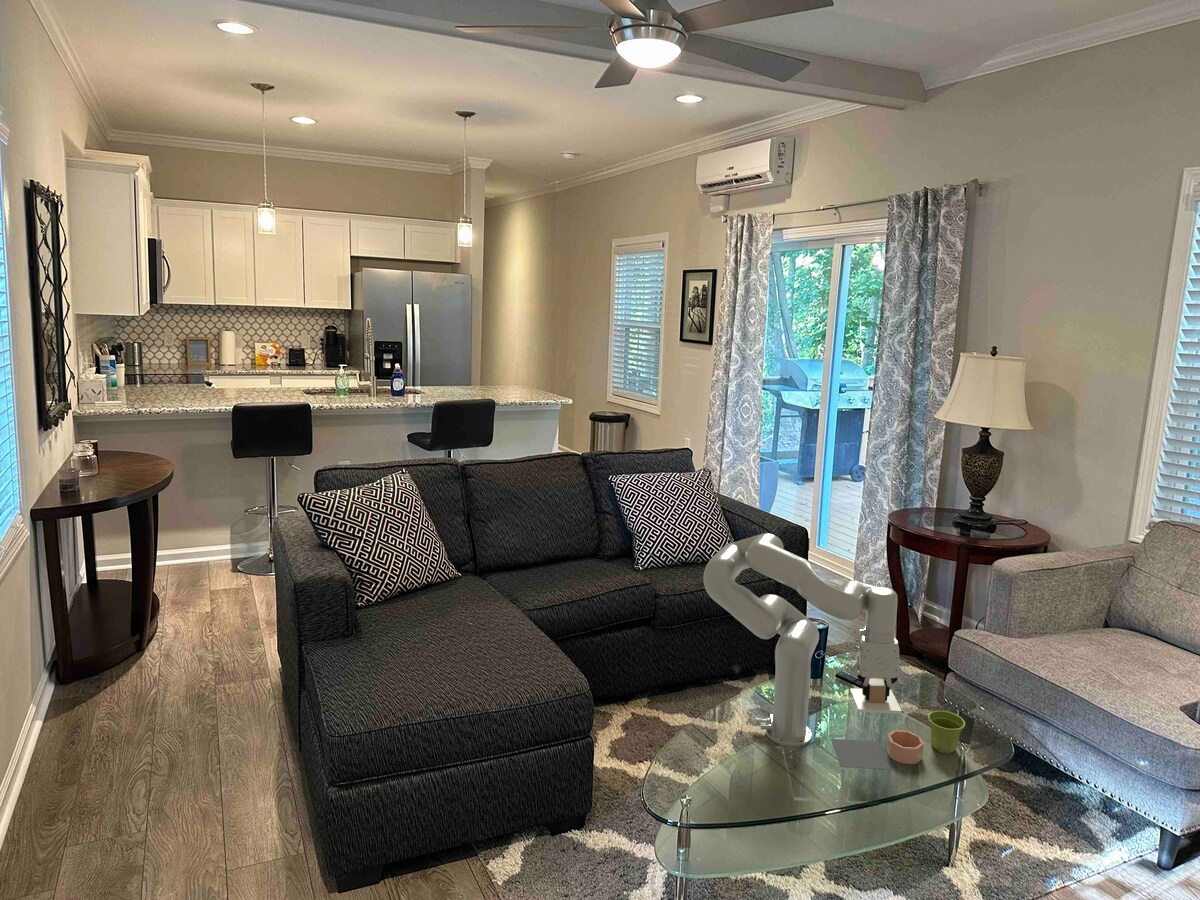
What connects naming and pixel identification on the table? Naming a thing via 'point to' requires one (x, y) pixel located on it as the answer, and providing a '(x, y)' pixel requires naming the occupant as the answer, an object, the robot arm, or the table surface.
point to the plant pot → (945, 730)
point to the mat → (860, 754)
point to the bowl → (904, 747)
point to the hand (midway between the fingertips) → (875, 697)
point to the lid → (875, 699)
